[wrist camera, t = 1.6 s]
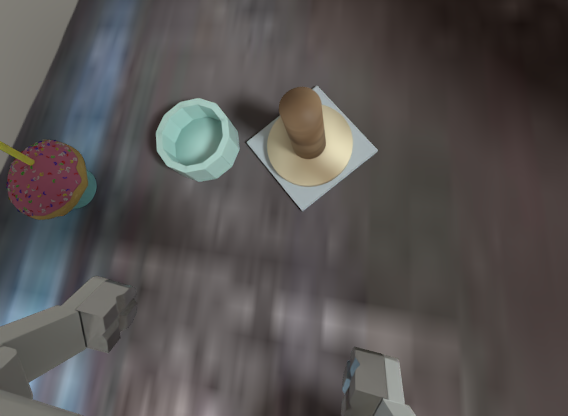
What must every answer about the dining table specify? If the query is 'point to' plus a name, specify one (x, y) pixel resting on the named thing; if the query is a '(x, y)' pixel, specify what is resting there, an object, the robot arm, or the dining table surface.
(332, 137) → the lid
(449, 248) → the dining table surface
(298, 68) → the dining table surface
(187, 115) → the bowl
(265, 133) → the mat
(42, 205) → the cupcake
